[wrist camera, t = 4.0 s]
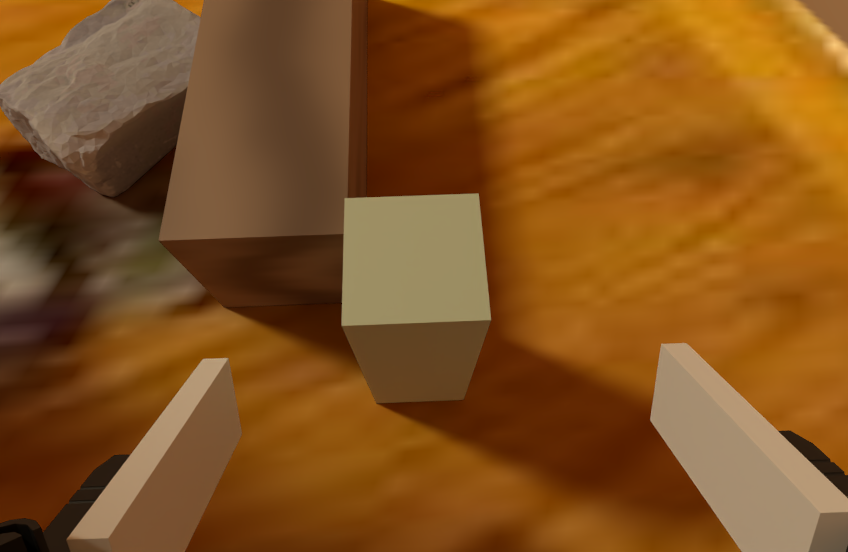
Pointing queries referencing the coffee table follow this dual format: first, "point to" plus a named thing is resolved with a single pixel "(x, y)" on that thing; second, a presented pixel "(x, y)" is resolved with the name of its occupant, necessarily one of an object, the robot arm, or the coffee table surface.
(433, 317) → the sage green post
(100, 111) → the stone block
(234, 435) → the robot arm
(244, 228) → the walnut beam
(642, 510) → the coffee table surface
